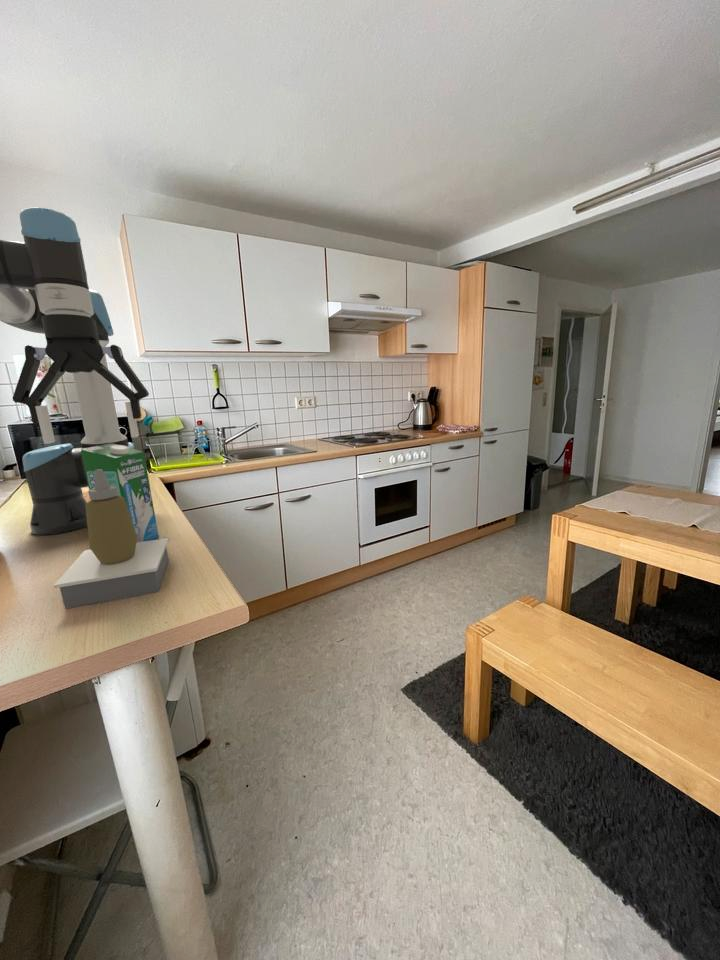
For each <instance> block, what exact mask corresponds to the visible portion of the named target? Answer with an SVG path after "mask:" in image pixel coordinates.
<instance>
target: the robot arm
mask: <svg viewBox="0 0 720 960" xmlns="http://www.w3.org/2000/svg"><path fill="white" fill-rule="evenodd" d="M19 221H20V226H21V230H20V232H21V235H22V237H23V240H24V241H23V242H21V241H12V240H7V239H6V240H5V239H0V322H2V323H4V324H6V325H9V326H11V327H13V328H17V329H20V330H22V331H25V332H31V333H36V334H37V333H38V334H44V337H45V340H46V347H39V346H33V345H29V344H27V345H25V346H24V355H25V360H24V362H23V366H22V369H21V372H20V375H19V377H18V381H17V383H16V387H15V390H14V392H13V396H12V401H13V402H14V403H18V404H23V405H25V406H27V407H28V410H29V414H30V419H31V422H32V424H33V425H35V426H36V425H39V428H40V433H41V436H42V440H43V444H44V445H47V444H48V445H49V444H52V443H56V439H55V435H54V430H53V425H52V421H51V417H50V416H51V415H50V412H49V408H48V405H43V402H44V400H45V399H46V397H48V395H49V393H50V392H51V390H52V389H53V388H54V386H55V385H56V384H57V382H58V381H59V380H60V378H61V377H62V376H63V375H64V374H65V373H70V374H72V377H73V382H74V383H73V384H74V386H75V387H74V388H75V393H76V397H77V401H78V407H79V411H80V416H81V419H82V425H83V430H84V433H85V436H84V437H82V438H81V441H80V445H81V447H75V448H74V445H72V443H63V444H56V445H55V444H54V445H51V446H47V447H41V448H37V449H34V450H31V451H28V452H26V453H25V454H23V456H22V465H23V466H22V467H23V472H24V473H25V478H26V481H27V486H28V489H29V494H30V497H31V501H32V510H31V515H30V516H31V518H30V523H29V526H30V530H31V533H32V534H33V535H37V536H43V535H44V536H45V535H55V534H61V533H62V532H63V533H66V531H68V532H72V531H75V530H74V529H76V530H78V528H79V529H82V528H85V527H88V526H87V516H86V507H85V506H86V504H87V503H88V502H87V500H86V498H85V497H84V492H83V488H89V487H88V482H87V477H86V473H85V468H84V463H83V459H82V454H81V449H83V448H89V447H94V446H100V445H105V444H110V443H113V444H117V445H124V446H128V447H129V448H132V449H135V445H134V443H132V442H130V441H129V442H128V437H127V436H126V435H124V434H122V433H121V430H120V425H119V420H118V415H117V410H116V409H117V408H116V405H115V399H114V394H113V388H112V386H113V387H114V388H115V389H116V390H118V391H119V392H120V393H121V394H123V396H125V397H126V398H127V399H128V400H129V401H124V403H125V411H126V414H127V420H128V426H129V432H130V438H137V437H139V436H140V434H139V429H138V422H137V419H141V418H142V411H141V404H140V401H141V400H142V399H144V398H147V397H149V395H150V394H149V393H150V392H149V391H148V389H147V388H146V387H145V386H144V384H143V383H142V382H141V380H140V378H139V377H138V376H137V374H136V373H135V372H134V370H133V369H132V367H131V366H130V365H129V363H128V362H127V361H126V360H125V357H124V354H123V351H122V348H121V347H120V346H119V345H116V344H111V345H110V346H108V345H109V344H110V339H109V337H113V336H114V334H115V333H114V329H113V327H112V323H111V319H110V315H109V313H108V309H107V307H106V304H105V302H104V299H103V296H102V295H101V294H100V293H99V292H98V291H96V290H93V289H90V287H89V284H88V276H87V275H88V274H87V271H86V265H85V260H84V255H83V249H82V244H81V240H82V239H81V237H80V235H79V230H78V226H77V223H76V221H75V220H74V219H73V218H72V217H70V216H69V215H67V214H65V213H64V212H60V211H58V210H54V209H51V208H45V207H28V208H24V209H22V210H21V211H20V213H19ZM45 356H47V357H48V358H49V359H50V360H51V361H52V363H51V364H50V365H49V367H48V369H47V372H46V373H45V375H44V376H43V377H42V379H41V380H40V382H39V383H38V384H37V386H36V387H35V389H34V390H33V391H32V389H33V385H34V383H35V380H36V378H37V374H38V371H39V368H40V367H41V366H40V365H41V361H43V360H44V359H45ZM106 356H107V357H108V358H109V359H113V360H114V362H115V364H116V365H117V367H118V368H119V369H120V370H121V372H122V373H123V374H124V376H125V377H126V379H127V380H128V381H129V383H130V385H132V387H133V388H134V389H135V390H136V392H134V390H132V389H131V388H130V387H129V386H128V385H126V384H125V382H123V381H122V380H121V379H119V378H118V377H117V376H116V375H115V374H114V373H113V372H112V371H111V370H109V367H108V363H107V357H106ZM31 391H32V392H31ZM71 530H72V531H71Z"/></svg>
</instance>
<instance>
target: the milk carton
mask: <svg viewBox="0 0 720 960" xmlns="http://www.w3.org/2000/svg"><path fill="white" fill-rule="evenodd" d="M81 454H82V459H83V463H84V468H85V473H86V477H87V482H88V487H87V488H88V491H89V490H91V489H93V488H94V484H95V470H98V469H102V470H103V472H104V474H105V476H106V478H107V480H108V482H109V484H110V486H117V490H118V495H117V496H122V497H124V498H125V501H126V504H127V507H128V510H129V513H130V516H131V519H132V522H133V525H134V528H135V531H136V534H137V542H144V541H151V540H157V538H159V537H160V536H159V530H158V529H159V528H158V526H157V525H158V524H157V520H156V513H155V508H154V503H153V502H154V500H153V496H152V490H151V484H150V480H149V473H148V467H147V462H146V455H145V451H142V450H138V449H135V448H134V449H132V448H129V447H128V446H124V445H117V444H113V443H110V444H105V445H100V446H94V447H89V448H83V449H81Z"/></svg>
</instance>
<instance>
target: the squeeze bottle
mask: <svg viewBox="0 0 720 960" xmlns="http://www.w3.org/2000/svg"><path fill="white" fill-rule="evenodd" d="M117 495H118V490H117V486H110V484H109V482H108V480H107V478H106V476H105V474H104V472H103V470H102V469H98V470H95V484H94V488H93V489H91V490H89V489H88V496H89V501H88V502H87V504H86V506H85V507H86V516H87V526H86V527H87V533H88V543H89V544H88V545H89V550H90V549H91V550H92V552H93V553H94V554H95V556H96V557H97V559H98V560H99V561H100V563H102V564H113V563H118V562H122V561H125V560H127V559H129V558H131V557H133V555H134V554H135V548H136V543H137V534H136V531H135V528H134V525H133V522H132V519H131V516H130V513H129V510H128V507H127V504H126V501H125V498H124V497H122V496H117Z"/></svg>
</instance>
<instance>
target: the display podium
mask: <svg viewBox="0 0 720 960" xmlns="http://www.w3.org/2000/svg"><path fill="white" fill-rule="evenodd" d="M168 542H169V538H168V537H166V538H160V539H159V538H158V539H154V540H151V541H144V542H137V543H136V548H135V554H134V555H133V557H131V558H129V559H127V560H125V561H122V562H118V563H113V564H102V563H100V561H99V560H98V559H97V557H96V556H95V554H94V553H93V552H92V550H91V549H90V548H89V549H85V550H83V551H82V553H81V554H79V556H78V557H77V558H76V559H75V560H74V562H73V563H72V564H71V565H70V567H69V568H67V570H66V571H65V572H64V573H63V574H62V575H61V577H60V578H59V579H57V581H56V582H55V583H54V589H58V588H59V591H60V595H61V598H62V603H63V606H64V609H73V608H77V607H83V606H87V605H93V604H99V603H104V602H110V601H114V600H120V599H121V600H122V599H125V598H131V597H132V598H133V597H135V596H141V595H146V594H147V595H148V594H152V593H158V592H159V591H160V588H161V584H162V582H163V578H164V576H165V573H166V570H167V566H168V564H169V560H170V559H169V554H168V549H167V548H168V547H167V545H168Z"/></svg>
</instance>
